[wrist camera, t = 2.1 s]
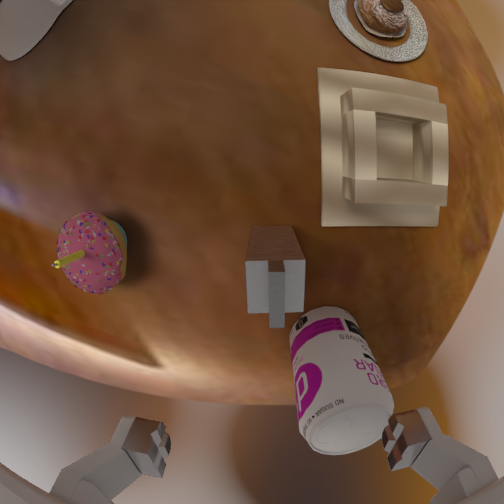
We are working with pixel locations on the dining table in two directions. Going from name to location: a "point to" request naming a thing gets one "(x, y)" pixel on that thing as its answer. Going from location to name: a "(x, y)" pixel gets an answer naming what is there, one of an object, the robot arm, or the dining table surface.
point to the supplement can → (337, 383)
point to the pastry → (383, 26)
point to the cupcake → (92, 252)
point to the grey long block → (274, 273)
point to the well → (381, 150)
